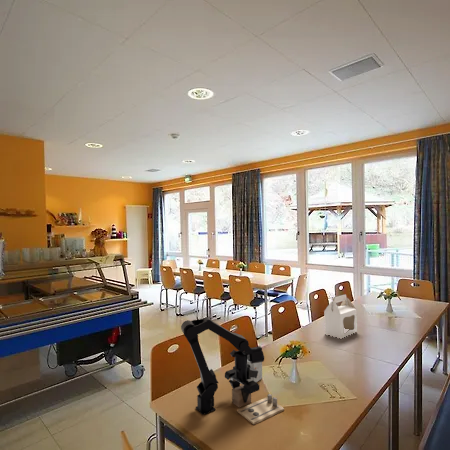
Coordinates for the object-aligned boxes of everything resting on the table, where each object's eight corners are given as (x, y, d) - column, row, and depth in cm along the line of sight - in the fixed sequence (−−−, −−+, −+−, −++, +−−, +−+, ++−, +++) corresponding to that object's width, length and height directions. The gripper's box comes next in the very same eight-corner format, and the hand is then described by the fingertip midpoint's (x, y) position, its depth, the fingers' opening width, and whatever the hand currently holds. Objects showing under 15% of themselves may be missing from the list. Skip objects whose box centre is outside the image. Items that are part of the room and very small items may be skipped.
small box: (253, 375, 165) (253, 355, 165) (262, 378, 161) (262, 358, 161) (244, 381, 159) (244, 360, 159) (254, 384, 155) (253, 363, 155)
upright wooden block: (238, 407, 135) (238, 393, 135) (232, 402, 139) (231, 389, 139) (251, 402, 139) (251, 388, 139) (244, 397, 143) (244, 384, 143)
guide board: (253, 424, 123) (253, 415, 123) (237, 411, 132) (236, 402, 132) (284, 410, 132) (284, 401, 133) (266, 398, 142) (266, 390, 142)
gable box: (340, 328, 240) (339, 292, 241) (357, 332, 230) (356, 294, 231) (324, 334, 226) (323, 296, 227) (341, 339, 216) (340, 299, 217)
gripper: (268, 367, 136) (269, 403, 136) (242, 353, 152) (243, 385, 151) (248, 374, 130) (249, 411, 130) (223, 359, 145) (224, 393, 145)
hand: (241, 399), depth 139 cm, fingers closed on upright wooden block, 5 cm apart
